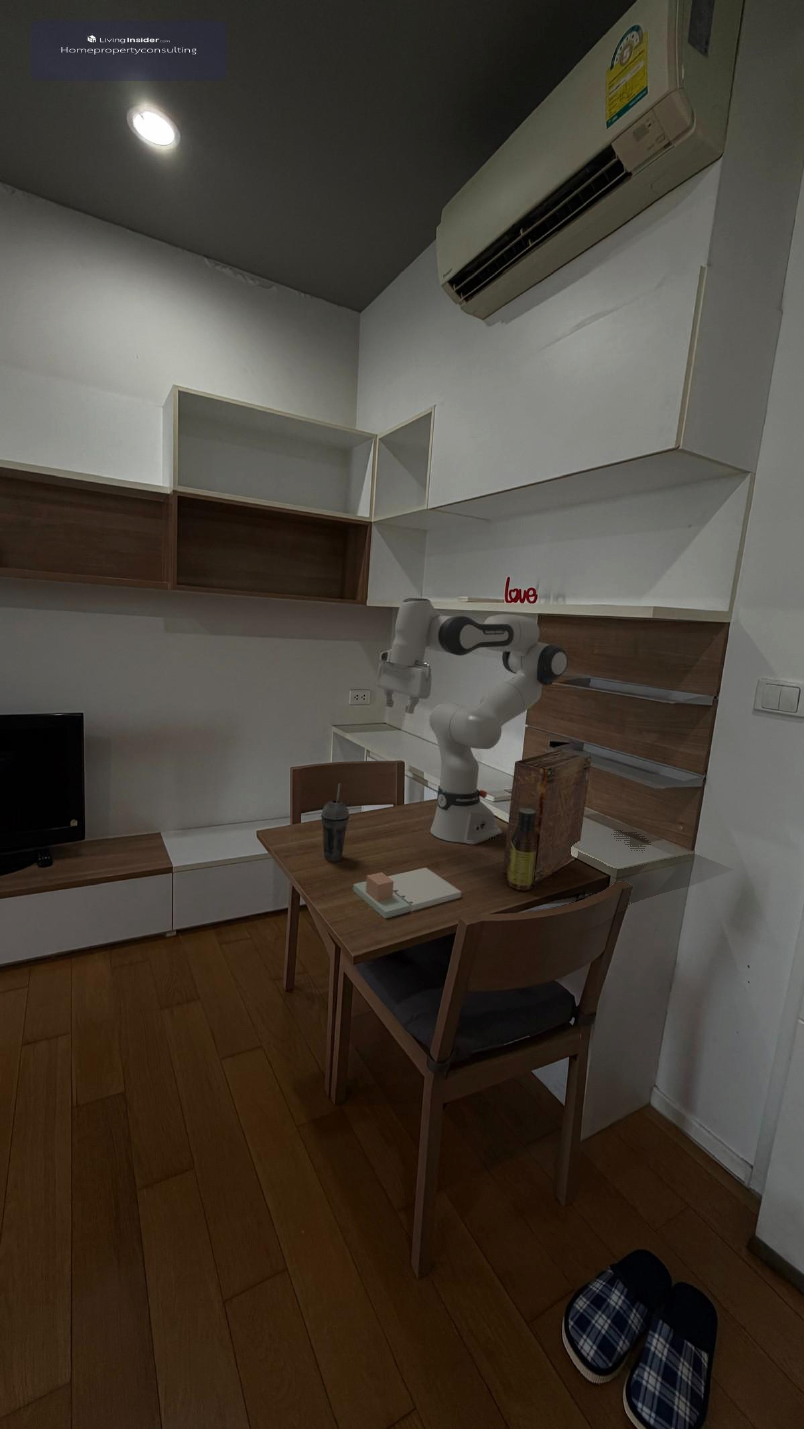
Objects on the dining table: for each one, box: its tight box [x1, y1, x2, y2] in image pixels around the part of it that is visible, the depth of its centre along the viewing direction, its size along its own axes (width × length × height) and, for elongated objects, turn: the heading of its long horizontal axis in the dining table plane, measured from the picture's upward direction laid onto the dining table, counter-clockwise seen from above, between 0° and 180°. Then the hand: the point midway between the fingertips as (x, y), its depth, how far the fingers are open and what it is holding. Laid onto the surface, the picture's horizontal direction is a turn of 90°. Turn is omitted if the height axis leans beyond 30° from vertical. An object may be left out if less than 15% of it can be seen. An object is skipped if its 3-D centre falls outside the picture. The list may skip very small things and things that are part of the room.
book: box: [502, 748, 592, 886], centre depth 153 cm, size 25×9×30 cm, turn 138°
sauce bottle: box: [507, 808, 537, 892], centre depth 141 cm, size 7×6×20 cm
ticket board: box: [387, 867, 462, 912], centre depth 136 cm, size 14×14×2 cm
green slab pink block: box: [352, 871, 411, 919], centre depth 129 cm, size 6×14×6 cm, turn 34°
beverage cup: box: [320, 783, 350, 862], centre depth 149 cm, size 7×7×20 cm
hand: (398, 709), depth 153 cm, fingers open, 8 cm apart
